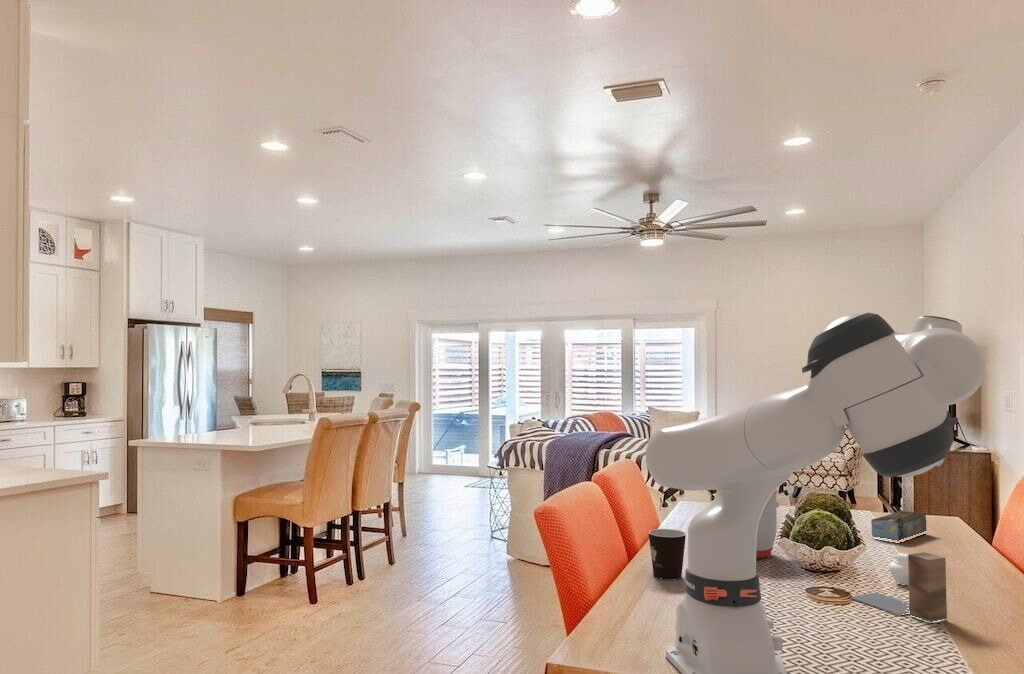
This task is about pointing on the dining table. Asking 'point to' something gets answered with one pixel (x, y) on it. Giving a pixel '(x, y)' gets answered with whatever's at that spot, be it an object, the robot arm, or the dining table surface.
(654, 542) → the coffee mug
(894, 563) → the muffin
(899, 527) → the beverage carton
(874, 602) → the slate mat
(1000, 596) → the dining table surface
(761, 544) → the citrus juicer
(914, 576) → the walnut block
